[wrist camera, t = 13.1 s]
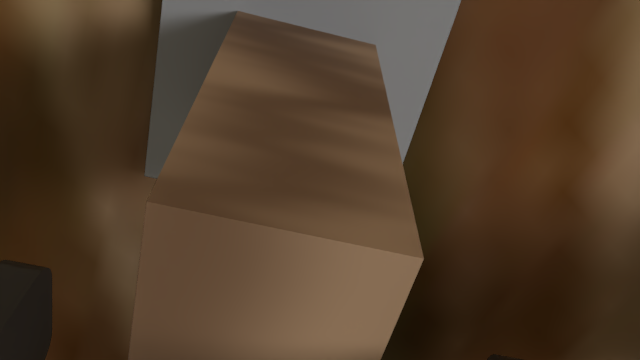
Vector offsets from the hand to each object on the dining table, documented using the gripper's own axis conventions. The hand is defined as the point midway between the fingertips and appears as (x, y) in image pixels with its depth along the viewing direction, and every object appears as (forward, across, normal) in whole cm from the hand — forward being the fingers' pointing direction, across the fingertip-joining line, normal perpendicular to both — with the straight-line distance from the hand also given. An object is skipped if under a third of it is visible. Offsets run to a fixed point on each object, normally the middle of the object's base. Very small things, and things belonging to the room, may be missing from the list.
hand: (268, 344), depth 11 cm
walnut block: (+11, 0, 0) cm, 11 cm away
